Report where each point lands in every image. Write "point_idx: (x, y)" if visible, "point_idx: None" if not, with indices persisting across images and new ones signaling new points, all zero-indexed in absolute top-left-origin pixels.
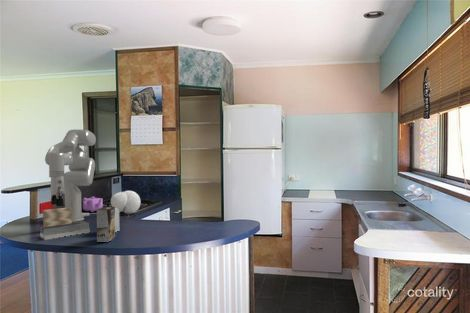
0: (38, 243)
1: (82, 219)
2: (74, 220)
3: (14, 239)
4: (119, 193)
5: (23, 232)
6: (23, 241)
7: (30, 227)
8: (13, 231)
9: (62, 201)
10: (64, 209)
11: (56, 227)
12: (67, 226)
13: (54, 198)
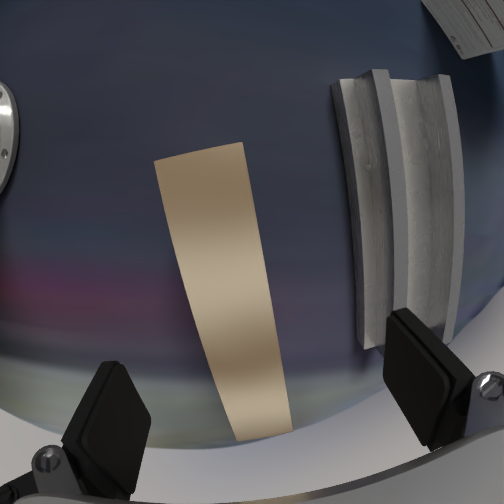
0: (459, 329)
1: (3, 84)
2: (13, 131)
3: (326, 417)
4: None
5: (188, 403)
6: None
7: (73, 371)
8: None
9: (439, 344)
10: (260, 247)
11: (452, 285)
12: (463, 221)
13: (117, 464)
